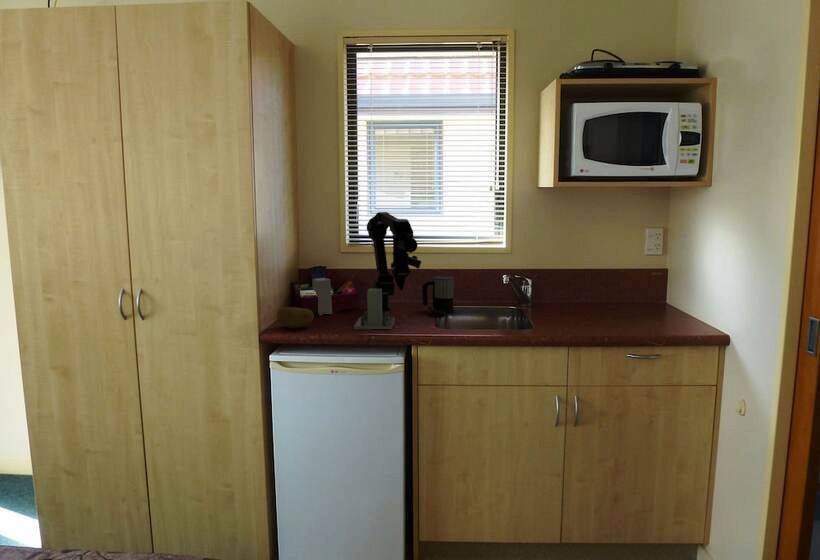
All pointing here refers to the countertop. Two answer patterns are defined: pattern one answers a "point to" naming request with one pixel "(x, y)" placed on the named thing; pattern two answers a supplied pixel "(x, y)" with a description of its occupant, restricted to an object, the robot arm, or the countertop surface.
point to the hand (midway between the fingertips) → (400, 288)
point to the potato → (294, 317)
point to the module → (374, 305)
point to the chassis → (363, 323)
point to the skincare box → (323, 295)
